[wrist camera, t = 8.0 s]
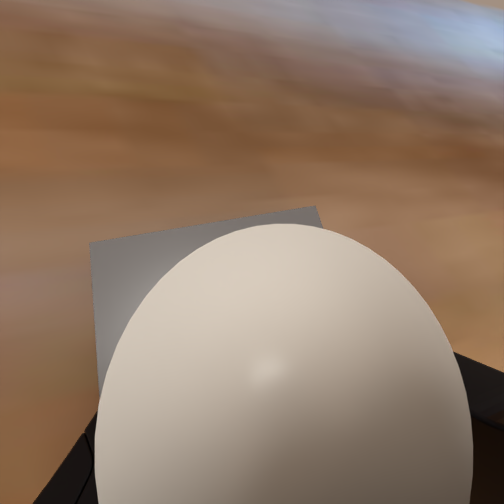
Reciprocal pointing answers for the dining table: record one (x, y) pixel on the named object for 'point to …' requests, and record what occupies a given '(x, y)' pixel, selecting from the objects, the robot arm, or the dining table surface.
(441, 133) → the dining table surface
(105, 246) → the collar block
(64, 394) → the dining table surface
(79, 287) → the dining table surface
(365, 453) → the peg
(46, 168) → the dining table surface
